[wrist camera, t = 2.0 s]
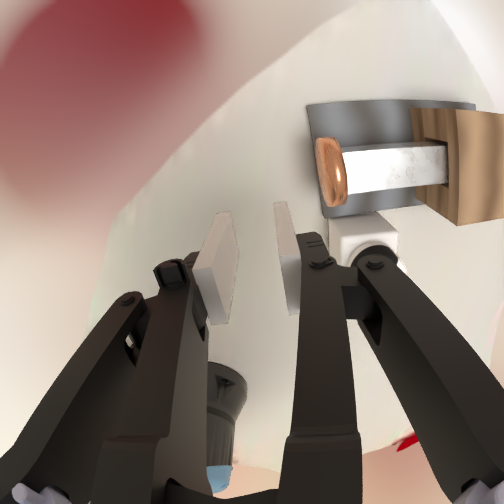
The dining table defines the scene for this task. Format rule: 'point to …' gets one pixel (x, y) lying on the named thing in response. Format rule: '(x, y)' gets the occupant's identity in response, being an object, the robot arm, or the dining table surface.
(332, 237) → the medicine bottle
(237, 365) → the dining table surface
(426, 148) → the shaft
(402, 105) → the bearing block
